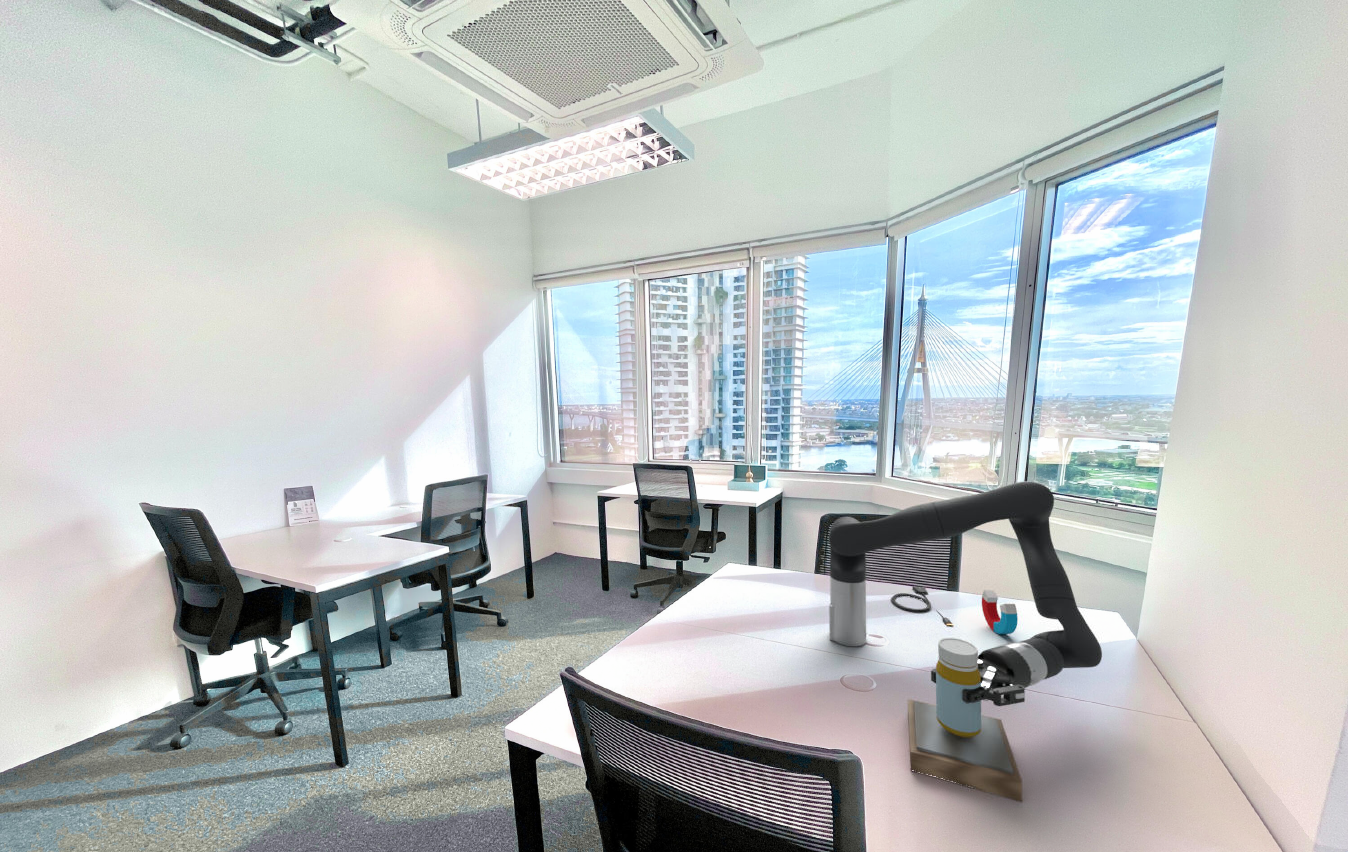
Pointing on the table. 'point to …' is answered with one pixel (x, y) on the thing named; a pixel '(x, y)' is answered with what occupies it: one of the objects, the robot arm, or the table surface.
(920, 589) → the cable
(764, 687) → the table surface
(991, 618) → the magnet
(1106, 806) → the table surface
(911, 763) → the plinth
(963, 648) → the bottle
